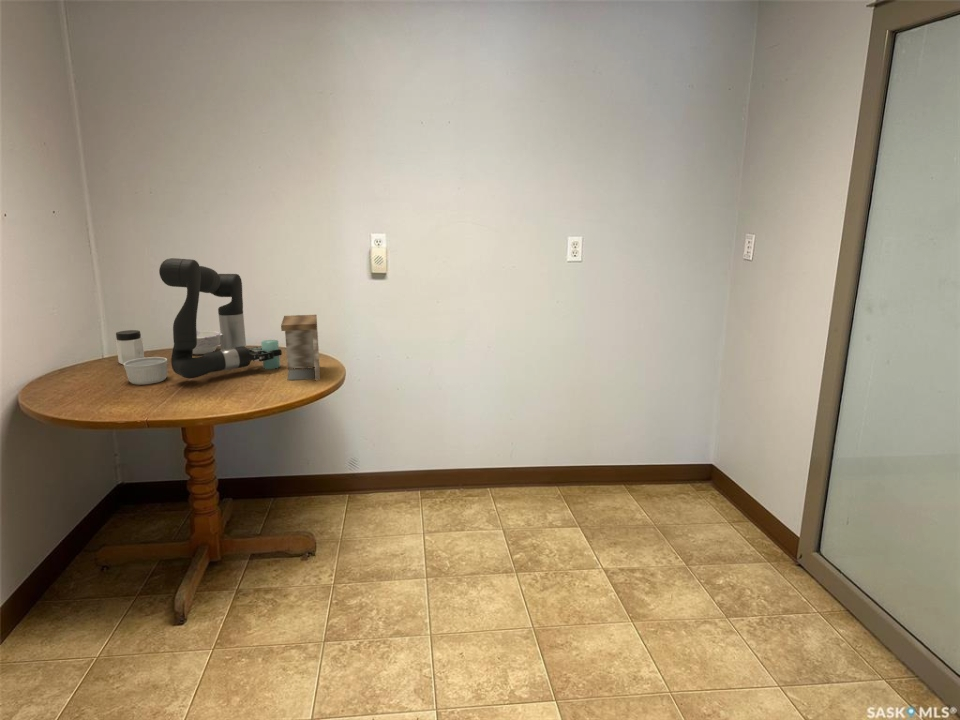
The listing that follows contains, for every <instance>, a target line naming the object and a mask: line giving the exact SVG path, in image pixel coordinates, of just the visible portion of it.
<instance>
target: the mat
mask: <svg viewBox="0 0 960 720" xmlns="http://www.w3.org/2000/svg"><path fill="white" fill-rule="evenodd" d="M303 379H308V380H315V368H302V369H288V371H287V378H286V380H292V381H303Z"/></svg>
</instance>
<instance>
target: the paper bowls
mask: <svg viewBox="0 0 960 720" xmlns="http://www.w3.org/2000/svg"><path fill="white" fill-rule="evenodd" d="M219 346H221V345H220V331H216V330H197V346H196V347H195V348H194V349H193V353H192V355H204V353H209V352H213V351H217V348H218V347H219Z"/></svg>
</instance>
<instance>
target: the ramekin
mask: <svg viewBox="0 0 960 720" xmlns="http://www.w3.org/2000/svg"><path fill="white" fill-rule="evenodd" d="M168 363H169V361H168V358H166V357H162V356H151V357H150V356H149V357H145V358H139V359H134V360H130V361H127V362H125V363H124V365H123V368H124V369H125V374H126V376H127V380H128V381H129V382H130V384H133V385H138V386H139V385H141V386H142V385H152V384H156V383H160V382H162V381H164V380H166V378H168Z"/></svg>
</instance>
